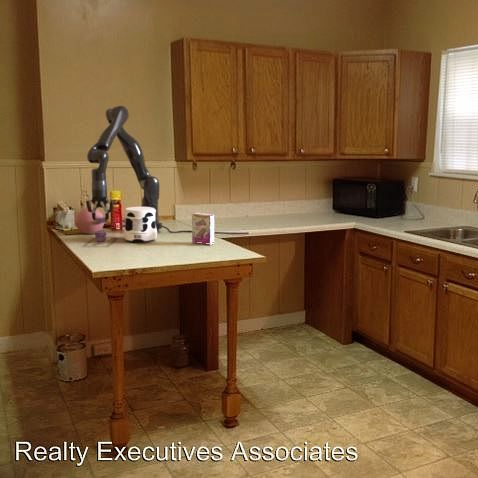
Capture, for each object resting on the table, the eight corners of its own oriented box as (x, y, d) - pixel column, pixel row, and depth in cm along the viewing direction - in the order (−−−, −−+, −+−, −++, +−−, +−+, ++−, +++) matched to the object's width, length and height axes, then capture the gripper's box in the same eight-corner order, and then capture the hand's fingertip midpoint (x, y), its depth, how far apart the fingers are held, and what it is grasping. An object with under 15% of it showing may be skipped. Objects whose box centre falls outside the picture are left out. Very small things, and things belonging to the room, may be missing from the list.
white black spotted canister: (147, 237, 340) (146, 205, 336) (163, 242, 328) (162, 209, 324) (118, 240, 328) (117, 207, 324) (133, 246, 316) (132, 211, 312)
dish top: (107, 221, 323) (107, 216, 323) (104, 223, 318) (104, 218, 317) (96, 221, 323) (96, 216, 322) (93, 223, 317) (93, 218, 317)
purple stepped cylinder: (107, 235, 325) (107, 230, 324) (104, 237, 319) (104, 232, 319) (96, 235, 324) (96, 230, 324) (93, 237, 319) (93, 232, 318)
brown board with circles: (117, 238, 334) (117, 237, 333) (107, 246, 312) (106, 245, 312) (95, 238, 333) (95, 237, 332) (83, 246, 311) (83, 245, 311)
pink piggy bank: (89, 239, 329) (88, 211, 326) (70, 234, 341) (69, 207, 338) (114, 235, 341) (113, 208, 338) (95, 230, 353) (94, 204, 350)
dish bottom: (107, 240, 325) (107, 235, 325) (104, 242, 320) (104, 237, 319) (97, 240, 325) (96, 235, 324) (94, 242, 319) (93, 237, 319)
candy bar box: (191, 243, 326) (191, 213, 323) (196, 242, 331) (196, 212, 328) (210, 245, 323) (210, 215, 320) (214, 244, 327) (214, 214, 324)
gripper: (83, 188, 312) (84, 221, 316) (111, 189, 314) (112, 221, 317) (87, 187, 320) (88, 218, 323) (115, 187, 321) (116, 219, 324)
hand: (100, 219), depth 320 cm, fingers closed on dish top, 5 cm apart
